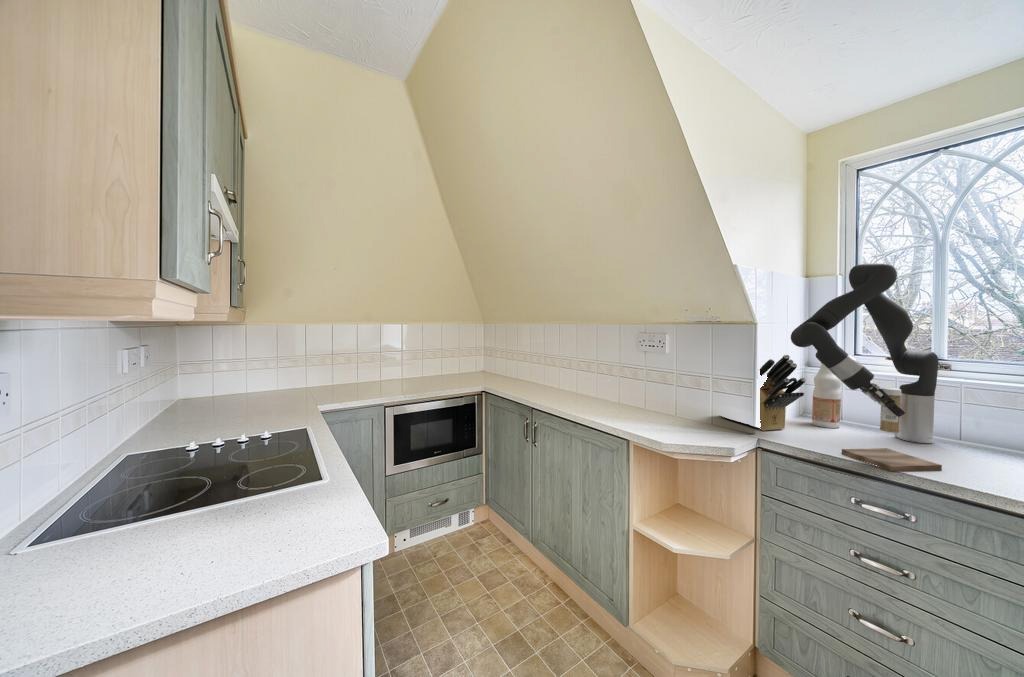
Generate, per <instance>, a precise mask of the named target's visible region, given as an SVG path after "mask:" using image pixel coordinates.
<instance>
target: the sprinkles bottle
mask: <svg viewBox="0 0 1024 677" xmlns="http://www.w3.org/2000/svg"><path fill="white" fill-rule="evenodd" d="M880 388H881V389H882V390H883V391H884V392H885V393H886V394H888V396H889V397H890V398H891V399H892V400H894V401H895V404H896V405H897V406H898V407H899V408H900V397H901V389H899V388H895V387H880ZM888 401H889V400H888V399H887V400H885V401H884V402H885V403H887V402H888ZM899 422H900V417H898V416H896V415H895V414H894V413H893V412H891V411H890V410H889V409H888V408H887V407H885V406H884V405H883V404H882V403H881V405H880V425H879V430H880V431H882V432H886V433H892V434H895V433H898V432H899Z"/></svg>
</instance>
